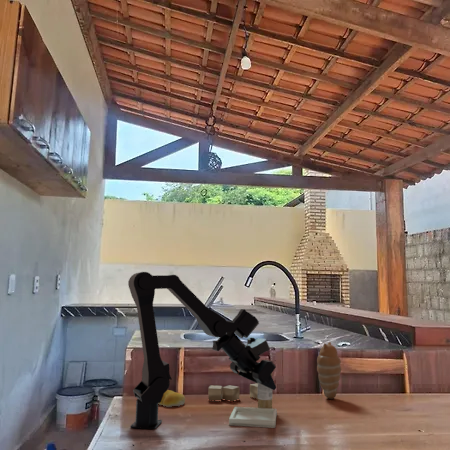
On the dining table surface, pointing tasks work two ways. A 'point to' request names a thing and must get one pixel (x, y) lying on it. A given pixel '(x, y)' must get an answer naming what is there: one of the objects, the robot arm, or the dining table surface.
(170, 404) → the bread roll
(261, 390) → the sprinkles bottle
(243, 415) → the tray
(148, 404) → the robot arm
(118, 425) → the dining table surface
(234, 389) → the oak cube
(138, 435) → the dining table surface
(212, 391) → the oak cube
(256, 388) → the oak cube
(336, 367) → the croissant
